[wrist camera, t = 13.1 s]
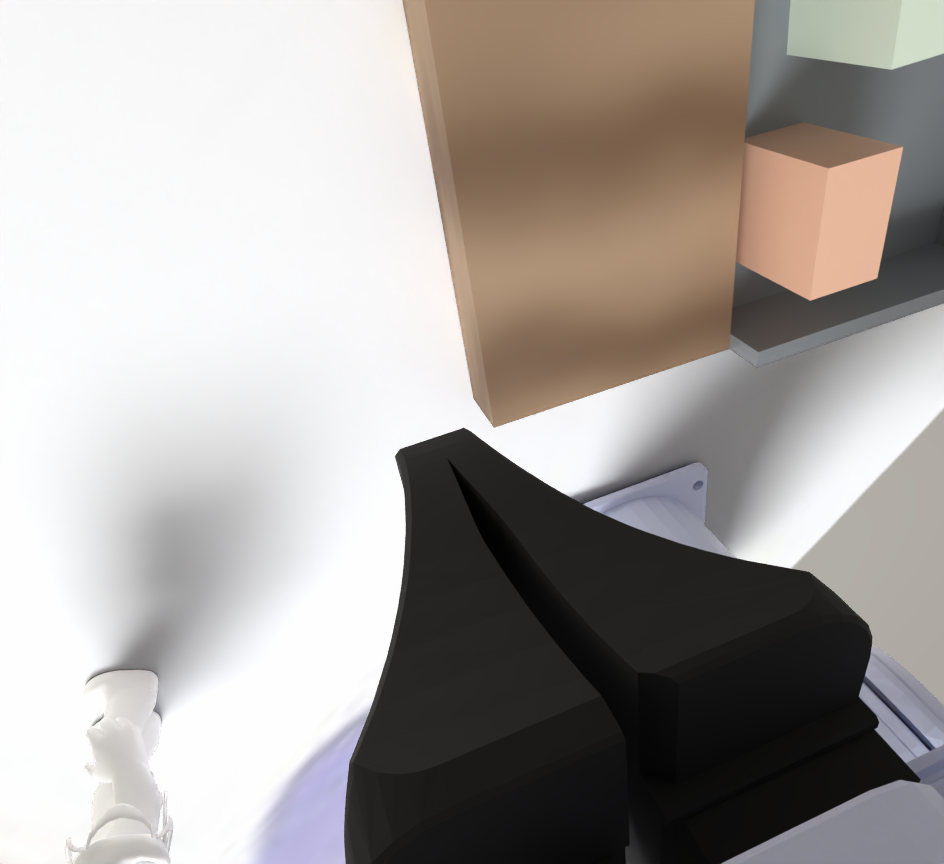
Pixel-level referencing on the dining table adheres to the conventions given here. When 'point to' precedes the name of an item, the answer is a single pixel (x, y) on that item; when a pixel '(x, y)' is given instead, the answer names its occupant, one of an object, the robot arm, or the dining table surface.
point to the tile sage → (867, 31)
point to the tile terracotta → (815, 207)
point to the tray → (914, 202)
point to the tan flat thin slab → (584, 185)
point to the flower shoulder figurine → (124, 773)
